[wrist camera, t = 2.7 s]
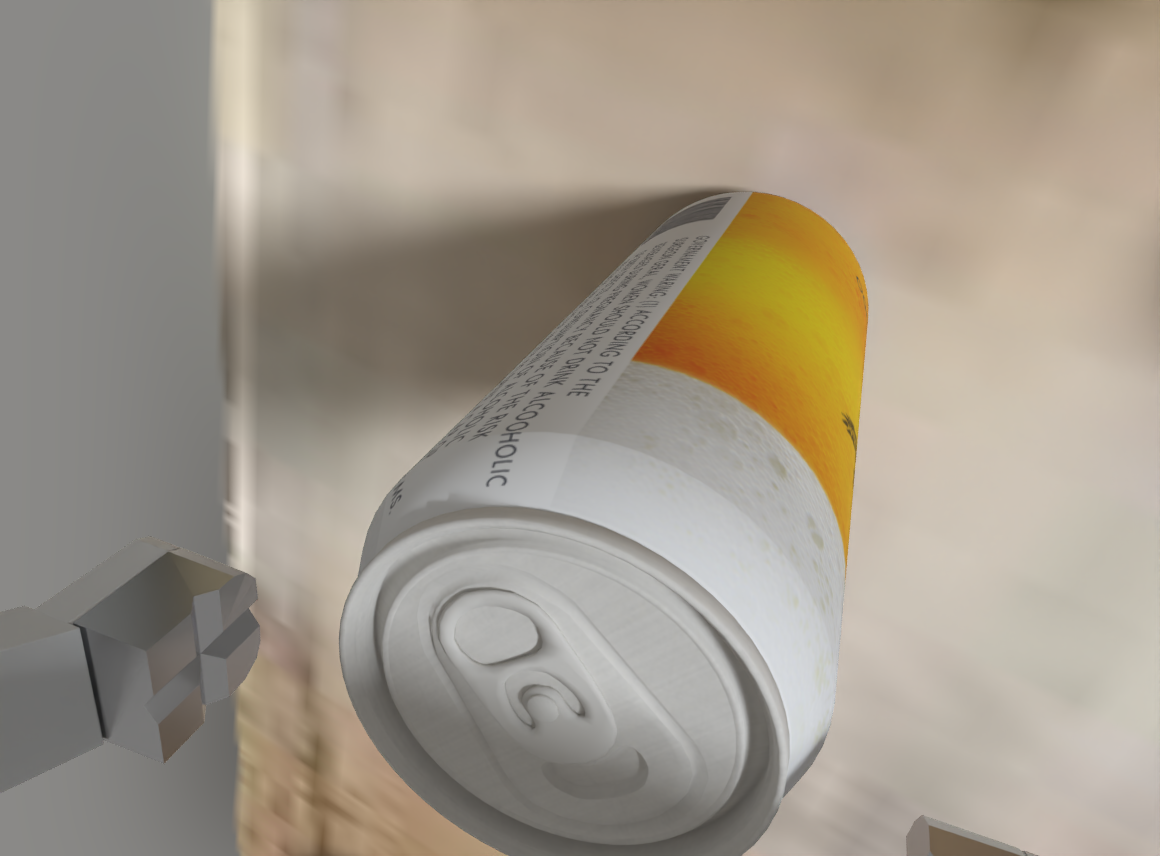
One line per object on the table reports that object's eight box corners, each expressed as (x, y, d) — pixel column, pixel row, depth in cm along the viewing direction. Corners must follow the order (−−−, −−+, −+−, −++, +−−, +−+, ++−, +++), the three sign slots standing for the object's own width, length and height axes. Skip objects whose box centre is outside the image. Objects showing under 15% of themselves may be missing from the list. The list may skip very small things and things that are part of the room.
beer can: (703, 439, 24) (492, 927, 11) (595, 256, 23) (217, 584, 10) (910, 353, 21) (932, 886, 8) (799, 136, 20) (629, 390, 7)
